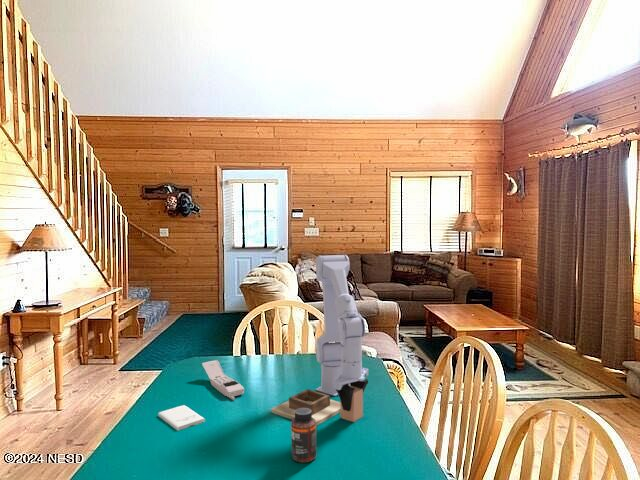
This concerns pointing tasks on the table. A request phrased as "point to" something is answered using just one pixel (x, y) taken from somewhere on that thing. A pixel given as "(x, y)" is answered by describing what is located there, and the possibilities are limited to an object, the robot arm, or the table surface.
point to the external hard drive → (181, 417)
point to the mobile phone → (222, 380)
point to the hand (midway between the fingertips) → (351, 407)
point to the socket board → (309, 406)
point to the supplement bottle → (303, 436)
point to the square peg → (354, 406)
